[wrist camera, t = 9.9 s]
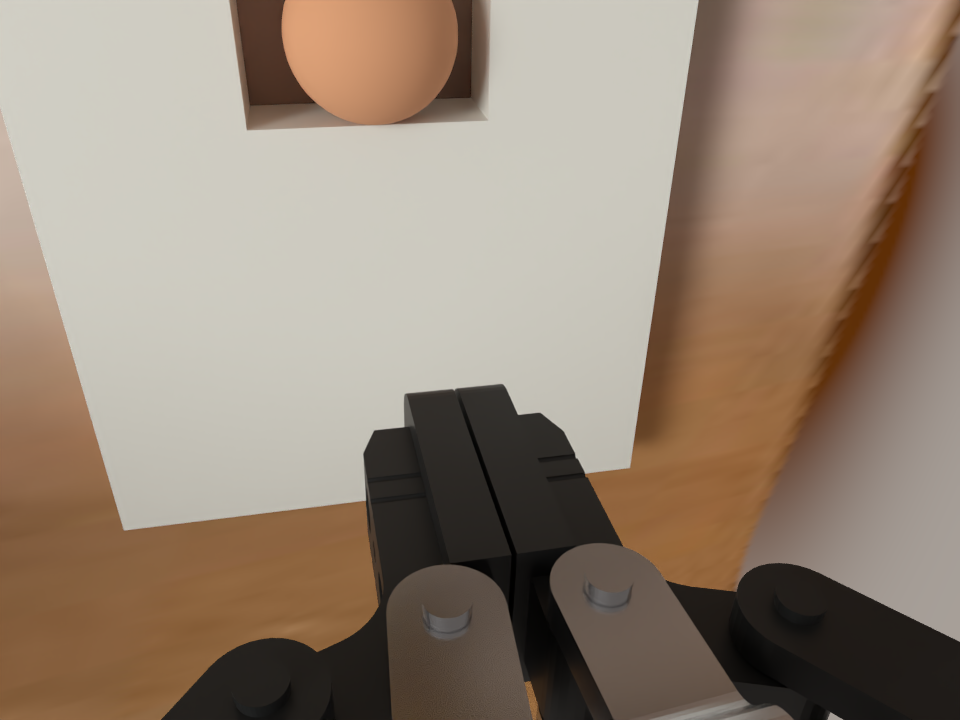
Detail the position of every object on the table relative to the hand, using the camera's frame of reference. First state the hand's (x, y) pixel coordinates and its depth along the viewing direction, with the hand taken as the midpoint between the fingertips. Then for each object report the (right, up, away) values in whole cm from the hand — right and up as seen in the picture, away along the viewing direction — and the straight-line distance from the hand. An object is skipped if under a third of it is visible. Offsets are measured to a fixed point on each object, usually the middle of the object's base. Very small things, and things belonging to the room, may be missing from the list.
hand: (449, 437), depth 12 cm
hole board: (-3, +8, +12) cm, 15 cm away
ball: (-2, +10, +9) cm, 13 cm away
